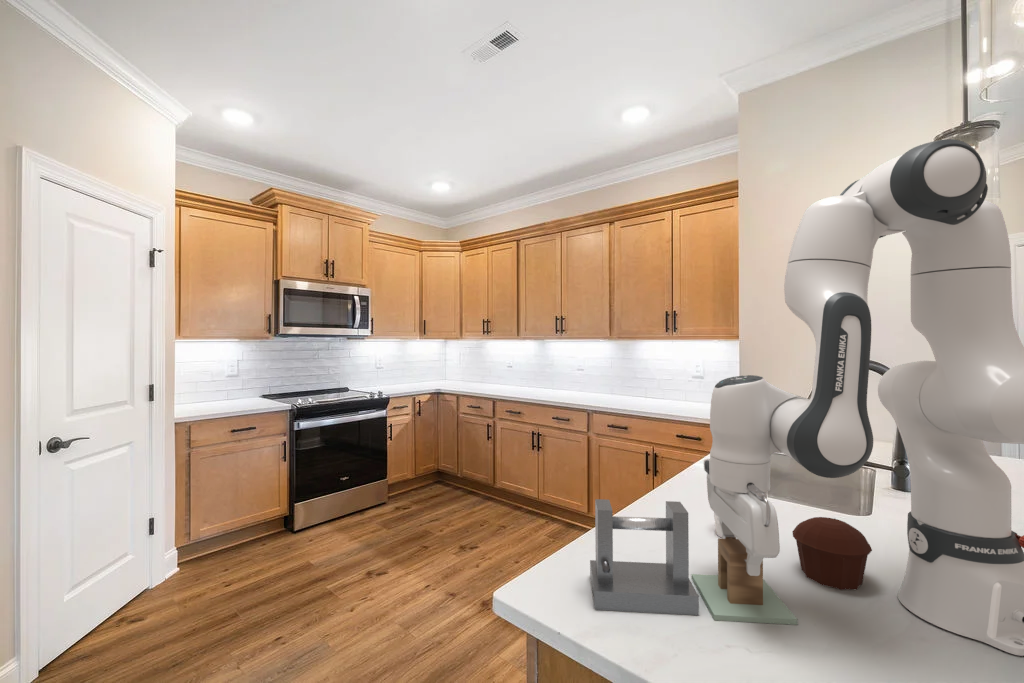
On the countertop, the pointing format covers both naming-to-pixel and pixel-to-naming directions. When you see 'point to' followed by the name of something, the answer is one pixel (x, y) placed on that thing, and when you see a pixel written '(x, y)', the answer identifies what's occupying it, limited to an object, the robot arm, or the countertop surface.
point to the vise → (643, 566)
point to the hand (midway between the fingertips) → (739, 558)
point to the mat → (725, 611)
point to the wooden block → (738, 574)
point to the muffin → (832, 552)
